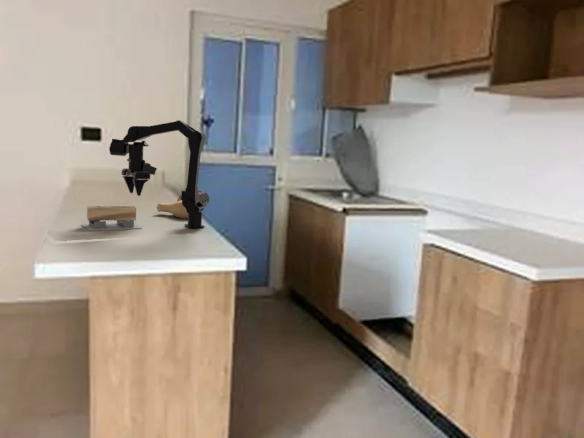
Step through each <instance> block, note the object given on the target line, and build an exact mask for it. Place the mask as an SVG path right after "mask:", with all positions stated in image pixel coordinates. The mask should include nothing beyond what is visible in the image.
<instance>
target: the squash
mask: <svg viewBox="0 0 584 438" xmlns="http://www.w3.org/2000/svg"><path fill="white" fill-rule="evenodd" d="M156 210H157V212H158V213H161V212H162V213H163V212H164V213H169V214H172V216H174V217H177V218H181V219H188V213H187V211H186V208H185V207H184V206H183V205H182V200H181V201H175V202H171V203H162V202H159V203H157V206H156Z"/></svg>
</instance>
